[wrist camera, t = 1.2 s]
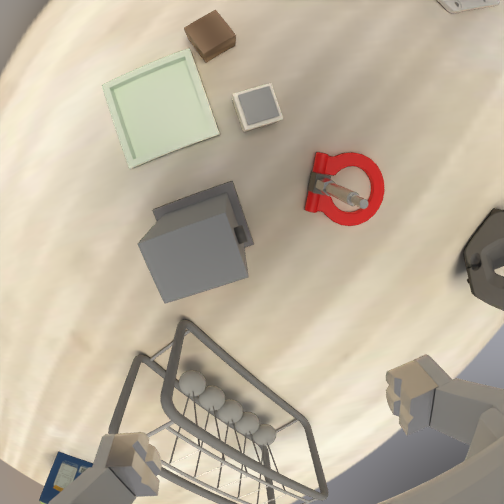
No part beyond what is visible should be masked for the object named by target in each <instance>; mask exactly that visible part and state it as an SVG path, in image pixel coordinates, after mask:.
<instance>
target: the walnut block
mask: <svg viewBox="0 0 504 504" xmlns="http://www.w3.org/2000/svg"><path fill="white" fill-rule="evenodd" d="M184 30H185V32H186V35H187V37H188V39H189V41H190V42H191V43H192V45H193V46H194V47H195V49H196V50H197V51H198V53H199V54H200V55H201V57H202V58H203V59H204V61H205V62H208V61H210V60H211V59H213V58H215V57H216V56H218V55H220V54H221V53H223V52H225V51H227V50H228V49H230V48H232V47H234V46H235V41H236V35H235V33H234V32H233V31H232V30H231V28H230V27H229V26H228V24H227V23H226V22H225V21H224V19H223V18H222V17H221V16H220V14H219V13H218V12H217V11H216V10H214V11H212V12H211V13H209V14H207V15H205V16H203V17H202V18H200V19H198V20H196V21H195V22H193V23H191V24H190V25H188V26H186V27H185V28H184Z"/></svg>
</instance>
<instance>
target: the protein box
mask: <svg viewBox="0 0 504 504" xmlns="http://www.w3.org/2000/svg"><path fill="white" fill-rule="evenodd" d="M92 466H93V463H90V462H87V461H84V460H81V459H78V458H75V457H72V456H70V455H67V454H64V453H61V452H58V454H57V456H56V459H55V461H54V464H53V466H52V468H51V471H50V473H49V476H48V478H47V481H46V483H45V486H44V489H43V491H42V494H41V496H40V499H39V501H40V503H41V504H48V503H49V501H51V500H52V499H53V498H54V497H55V496H57V495H58V494H59V493H60V492H61V491H62V490H64V489H65V488H66V487H67V486H68V485H69V484H70V483H72V482H73V481H74V480H75V479H76V478H77V477H78V476H80V475H81V474H82V473H83V472H84V471H85V470H86V469H88V468H89V467H92Z"/></svg>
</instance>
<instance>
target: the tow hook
mask: <svg viewBox="0 0 504 504" xmlns="http://www.w3.org/2000/svg"><path fill="white" fill-rule="evenodd" d="M348 166H357V167H359V168H361V169H362V170H363V171H365V172H366V174H367V175H368V177H369V179H370V182H371V194H370V197H369V199H368V201H367V200H366V199H364V198H362V197H359V194H358V193H356V192H354V191H352V190H349V189H347V188H344V187H342V186H339V185H337V184H336V183H335V182H334V181H333V180H331V176H328V175H333V176H334V175H336V174H337V172H339V171H340V170H341V169H343V168H345V167H348ZM326 174H328V175H326ZM308 190H309V191H308V196H307V201H306V206H305V210H306V211H308V212H313V213H316V212H317V211H321V212H323V213H324V214H325V215H326V216H327V217H328V218H330V219H331V220H332V221H334V222H336V223H338V224H340V225H346V226H353V225H359V224H361V223H363V222H366V221H367V220H369V219H370V218H371V217H372V216H374V214H375V213H376V212H377V210H378V209H379V207H380V205H381V203H382V200H383V196H384V180H383V176H382V173H381V171H380V170H379V168H378V166H377V165H376V164H375V163H374V162H373V161H372V160H371V159H370V158H368V157H366V156H364V155H362V154H358V153H352V152H351V153H342V154H340V155H337V156H334V157H331V156H328V154H325V153H320V152H316V156H315V161H314V166H313V172H311V177H310V182H309V187H308ZM330 196H333V197H335V198H337V199H339V200H341V201H343V202H345V203H347V204H349V205H351V206H355V205H356V206H358V207H360V208H361V209H359V210H357V211H354V212H344V211H341V210H339V209H338V208H337V207H336V206H335V205H334V203H333V201H332V199H331V197H330Z"/></svg>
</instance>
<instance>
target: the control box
mask: <svg viewBox="0 0 504 504" xmlns="http://www.w3.org/2000/svg"><path fill="white" fill-rule="evenodd" d="M153 213H154V215H155V218H156V220H157V222H156V224H155V225H154V226H153V227H152V228H151V229H150V230H149V231H148V233H147V234H146V235H145V236H144V237H143V238H142V239H141V240H140V242H139V243H138V246H139V248H140V251H141V253H142V255H143V258H144V260H145V262H146V264H147V267H148V269H149V271H150V273H151V275H152V278H153V280H154V282H155V284H156V286H157V288H158V291H159V293H160V295H161V297H162V299H163V301H164V303H169V302H172V301H175V300H178V299H181V298H185V297H188V296H191V295H194V294H197V293H201V292H204V291H207V290H210V289H213V288H216V287H219V286H223V285H226V284H229V283H232V282H235V281H238V280H241V279H244V278H247V277H249V276H248V269H247V262H246V255H245V247H248V246H251V245H254V243H253V240H252V237H251V234H250V231H249V228H248V225H247V222H246V219H245V217H244V214H243V211H242V208H241V205H240V202H239V199H238V196H237V193H236V190H235V187H234V184H233V182H232V181H230V182H227V183H224V184H221V185H219V186H216V187H213V188H210V189H207V190H204V191H202V192H199V193H196V194H193V195H190V196H188V197H185V198H182V199H180V200H177V201H174V202H171V203H169V204H166V205H164V206H161V207H158V208H156V209H153Z"/></svg>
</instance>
